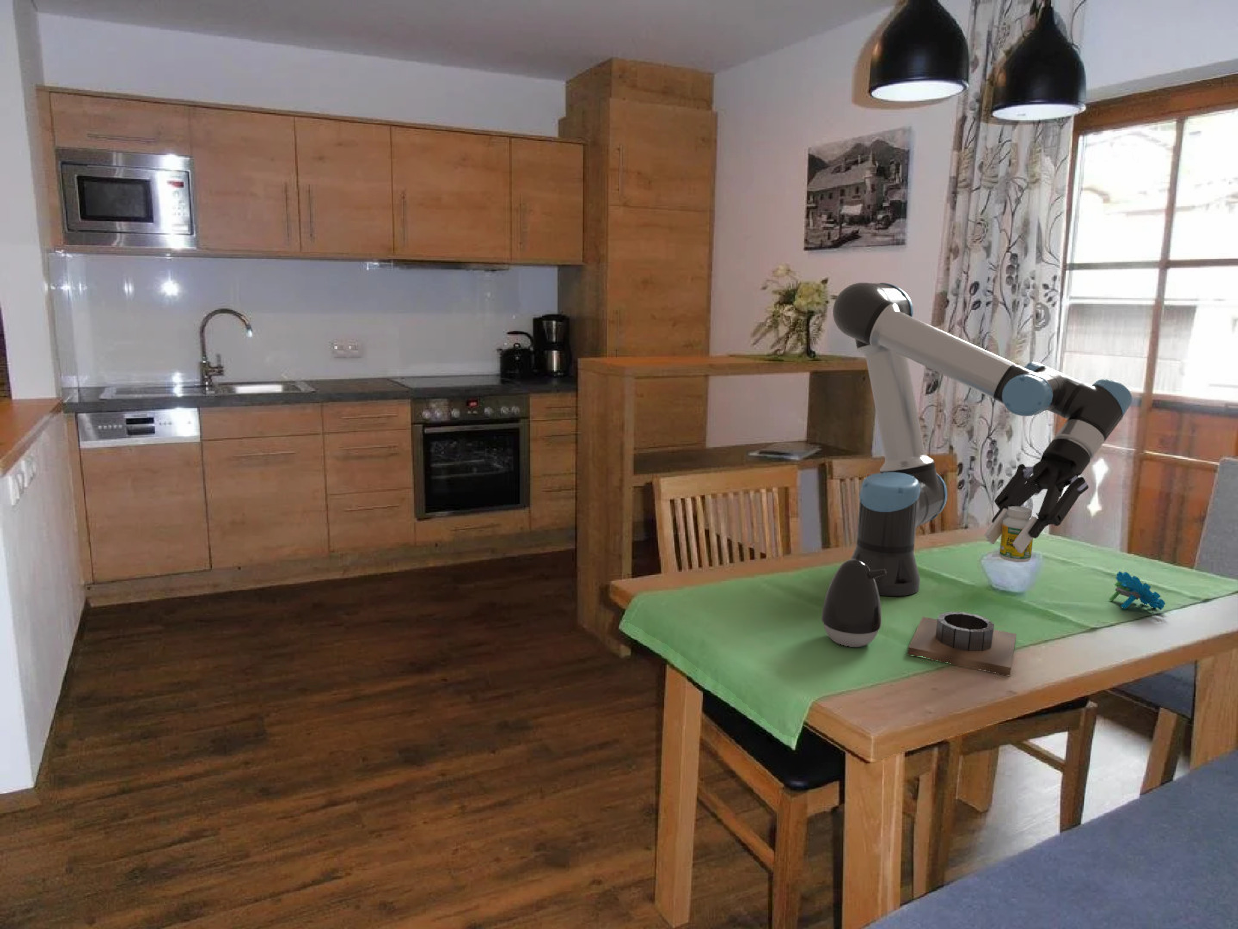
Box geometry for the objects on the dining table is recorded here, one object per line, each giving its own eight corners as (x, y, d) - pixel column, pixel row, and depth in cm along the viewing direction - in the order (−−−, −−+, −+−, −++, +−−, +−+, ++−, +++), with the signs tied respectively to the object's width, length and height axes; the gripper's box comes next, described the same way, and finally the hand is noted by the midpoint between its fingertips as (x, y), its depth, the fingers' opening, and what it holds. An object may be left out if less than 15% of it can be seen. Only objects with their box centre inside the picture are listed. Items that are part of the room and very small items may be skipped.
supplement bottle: (1027, 555, 158) (1034, 506, 156) (1032, 564, 153) (1039, 513, 151) (997, 552, 160) (1002, 504, 158) (1000, 561, 155) (1006, 510, 153)
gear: (1178, 610, 163) (1145, 574, 162) (1156, 631, 163) (1123, 596, 162) (1138, 597, 174) (1107, 563, 173) (1118, 617, 174) (1087, 584, 173)
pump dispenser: (871, 658, 142) (878, 573, 139) (812, 644, 147) (817, 562, 144) (887, 638, 151) (894, 557, 148) (830, 625, 156) (836, 547, 153)
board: (907, 655, 144) (908, 647, 143) (921, 624, 157) (922, 616, 157) (1009, 676, 136) (1010, 667, 136) (1015, 641, 150) (1016, 633, 150)
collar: (932, 644, 145) (934, 625, 144) (939, 626, 153) (941, 608, 152) (989, 655, 141) (991, 635, 140) (993, 636, 148) (995, 618, 148)
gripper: (1126, 472, 152) (1055, 570, 148) (1036, 453, 168) (970, 542, 164) (1112, 445, 148) (1039, 545, 144) (1021, 429, 164) (953, 519, 160)
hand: (1003, 543), depth 154 cm, fingers closed on supplement bottle, 5 cm apart
